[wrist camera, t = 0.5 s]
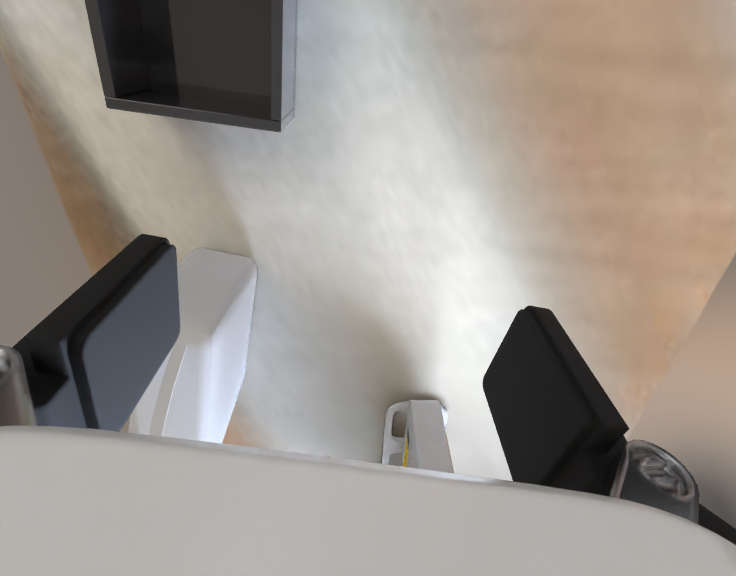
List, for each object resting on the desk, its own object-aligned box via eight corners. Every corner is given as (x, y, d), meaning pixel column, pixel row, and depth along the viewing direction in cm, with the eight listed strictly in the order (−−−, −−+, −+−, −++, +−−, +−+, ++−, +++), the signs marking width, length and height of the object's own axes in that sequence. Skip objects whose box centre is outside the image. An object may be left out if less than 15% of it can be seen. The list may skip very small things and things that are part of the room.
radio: (182, 222, 40) (-24, 428, 19) (263, 241, 41) (154, 454, 20) (181, 373, 52) (52, 606, 30) (245, 384, 53) (163, 616, 32)
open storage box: (117, -103, 27) (55, -137, 22) (300, -71, 28) (284, -95, 23) (147, 97, 34) (106, 108, 29) (294, 118, 35) (281, 132, 29)
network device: (431, 491, 66) (453, 646, 50) (379, 491, 66) (383, 646, 49) (453, 384, 53) (493, 548, 36) (388, 383, 53) (397, 547, 36)
